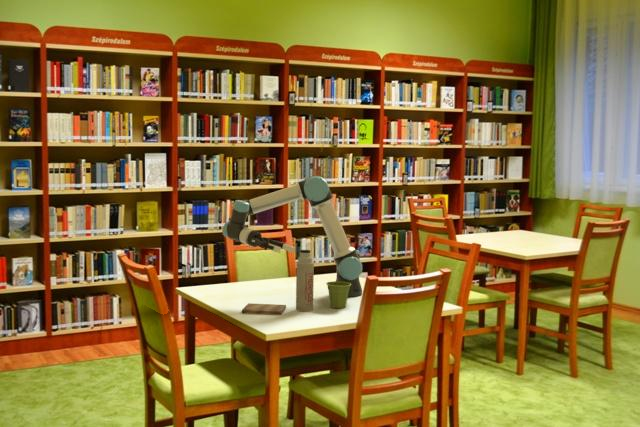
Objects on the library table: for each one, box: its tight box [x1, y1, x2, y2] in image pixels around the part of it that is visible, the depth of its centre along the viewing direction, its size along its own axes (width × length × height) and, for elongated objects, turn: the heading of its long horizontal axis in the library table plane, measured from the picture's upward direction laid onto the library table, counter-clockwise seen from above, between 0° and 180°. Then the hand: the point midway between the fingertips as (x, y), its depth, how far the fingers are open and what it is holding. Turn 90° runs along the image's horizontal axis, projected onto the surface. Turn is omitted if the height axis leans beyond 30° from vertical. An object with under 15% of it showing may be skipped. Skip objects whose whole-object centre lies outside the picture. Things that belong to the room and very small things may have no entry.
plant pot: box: [326, 280, 351, 309], centre depth 356 cm, size 12×12×11 cm
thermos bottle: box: [295, 249, 315, 313], centre depth 348 cm, size 8×8×28 cm
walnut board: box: [241, 302, 287, 316], centre depth 347 cm, size 18×14×2 cm
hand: (287, 250), depth 355 cm, fingers open, 13 cm apart
